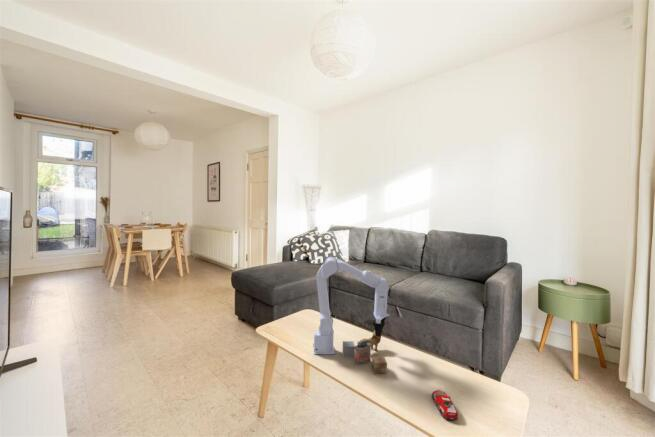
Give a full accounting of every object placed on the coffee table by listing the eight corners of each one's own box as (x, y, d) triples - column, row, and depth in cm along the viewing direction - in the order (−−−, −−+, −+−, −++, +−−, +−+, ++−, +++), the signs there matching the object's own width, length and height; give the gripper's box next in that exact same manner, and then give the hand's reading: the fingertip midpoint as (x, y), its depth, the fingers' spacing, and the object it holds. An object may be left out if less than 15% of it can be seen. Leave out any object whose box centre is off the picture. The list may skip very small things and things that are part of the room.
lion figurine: (375, 344, 143) (375, 326, 143) (383, 348, 139) (384, 330, 139) (354, 353, 134) (354, 334, 133) (362, 358, 130) (363, 339, 129)
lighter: (356, 366, 124) (357, 343, 123) (352, 362, 127) (353, 340, 126) (372, 362, 127) (373, 340, 127) (367, 358, 130) (368, 336, 130)
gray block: (343, 357, 131) (343, 346, 130) (342, 351, 136) (342, 341, 135) (354, 357, 131) (354, 346, 130) (352, 351, 136) (353, 341, 135)
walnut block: (374, 374, 118) (375, 362, 118) (372, 367, 123) (372, 356, 123) (386, 374, 118) (387, 362, 118) (383, 367, 123) (384, 356, 123)
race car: (429, 394, 107) (430, 384, 107) (444, 395, 107) (445, 385, 107) (442, 421, 94) (443, 410, 94) (459, 422, 94) (460, 411, 93)
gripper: (388, 310, 125) (386, 340, 126) (390, 300, 139) (389, 327, 140) (371, 308, 127) (370, 338, 128) (376, 298, 141) (374, 325, 142)
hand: (379, 332), depth 134 cm, fingers open, 7 cm apart
